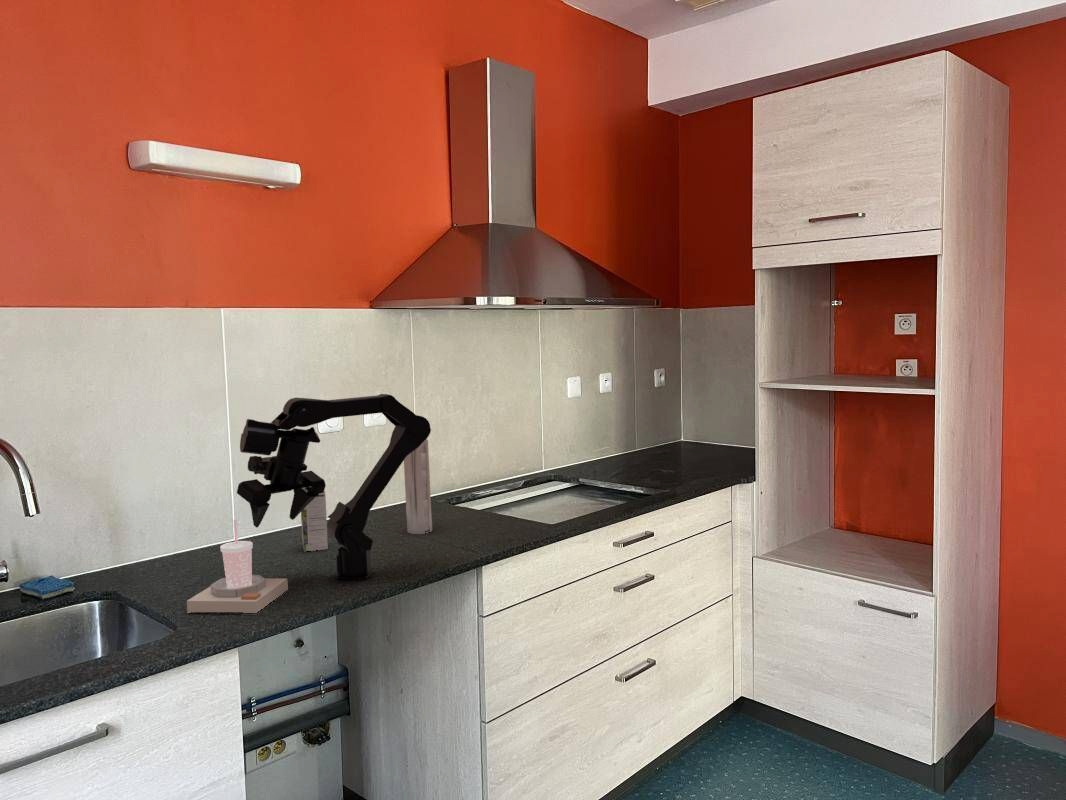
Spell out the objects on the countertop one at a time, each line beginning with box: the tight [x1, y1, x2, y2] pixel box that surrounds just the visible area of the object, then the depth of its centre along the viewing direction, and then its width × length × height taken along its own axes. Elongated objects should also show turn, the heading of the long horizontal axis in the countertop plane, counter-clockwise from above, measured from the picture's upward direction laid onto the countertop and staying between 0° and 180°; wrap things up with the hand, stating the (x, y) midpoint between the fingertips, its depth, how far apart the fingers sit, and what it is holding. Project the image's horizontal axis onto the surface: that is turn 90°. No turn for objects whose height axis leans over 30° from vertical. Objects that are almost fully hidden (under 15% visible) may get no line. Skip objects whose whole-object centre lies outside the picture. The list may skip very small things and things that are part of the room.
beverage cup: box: [220, 519, 254, 588], centre depth 161 cm, size 6×6×14 cm
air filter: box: [403, 438, 433, 535], centre depth 213 cm, size 6×6×25 cm
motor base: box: [186, 574, 289, 614], centre depth 162 cm, size 14×14×4 cm
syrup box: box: [300, 490, 329, 553], centre depth 200 cm, size 6×6×14 cm
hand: (274, 522), depth 174 cm, fingers open, 9 cm apart
